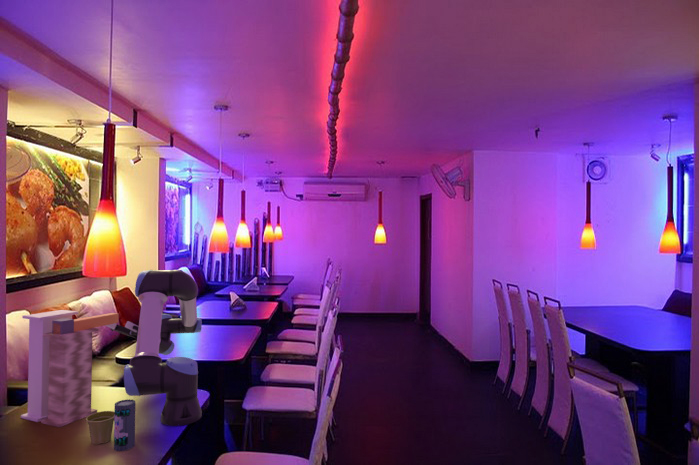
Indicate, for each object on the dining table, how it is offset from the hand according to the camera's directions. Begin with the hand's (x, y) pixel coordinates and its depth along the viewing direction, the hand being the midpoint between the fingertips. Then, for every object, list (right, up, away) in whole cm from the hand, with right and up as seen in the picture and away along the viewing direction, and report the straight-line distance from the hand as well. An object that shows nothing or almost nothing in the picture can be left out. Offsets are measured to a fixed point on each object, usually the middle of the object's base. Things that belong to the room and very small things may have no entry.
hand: (115, 322), depth 197 cm
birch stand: (-8, -33, -19) cm, 39 cm away
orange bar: (-5, 0, -13) cm, 14 cm away
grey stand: (-19, -33, -15) cm, 41 cm away
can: (+26, -34, -44) cm, 61 cm away
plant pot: (+15, -34, -39) cm, 54 cm away
